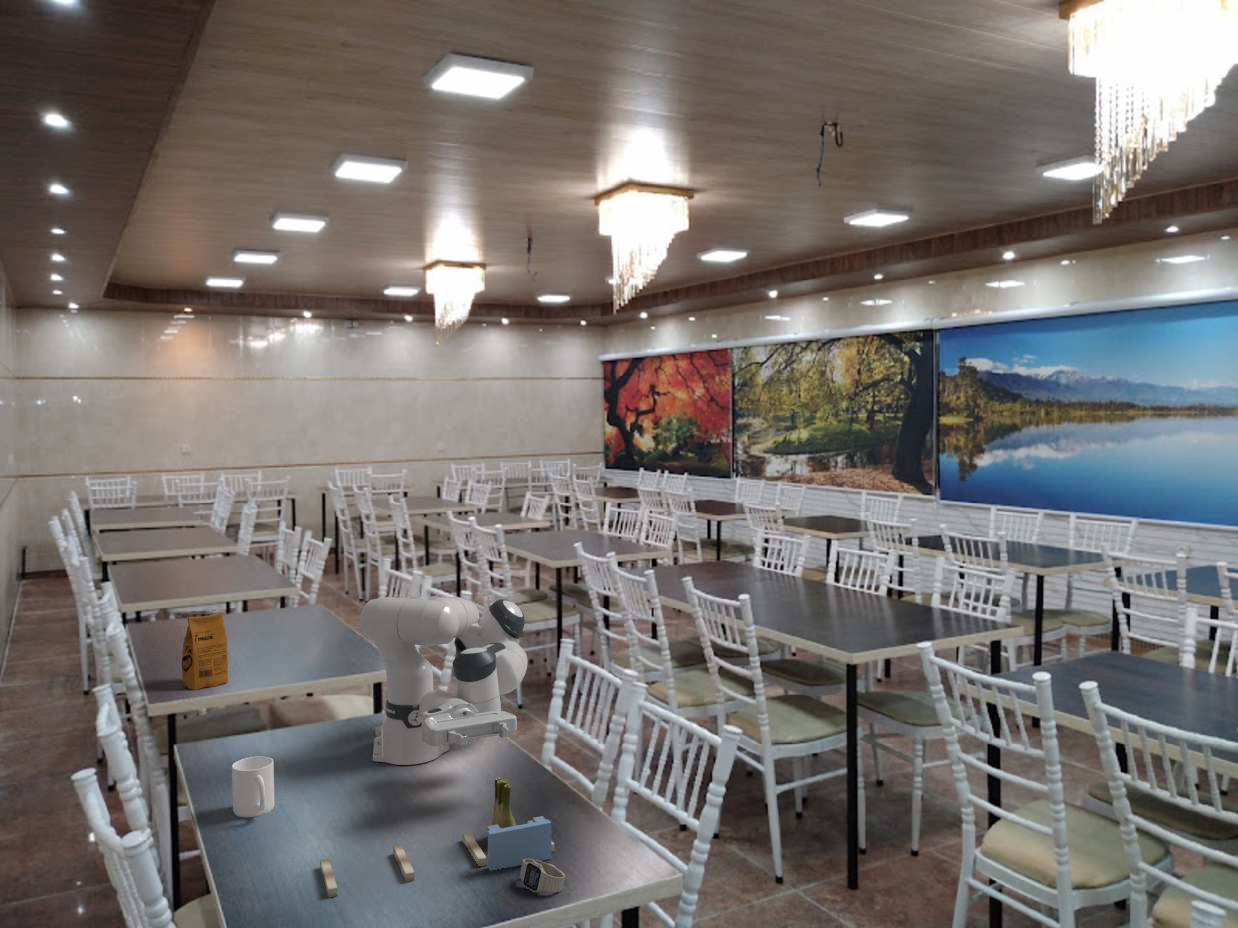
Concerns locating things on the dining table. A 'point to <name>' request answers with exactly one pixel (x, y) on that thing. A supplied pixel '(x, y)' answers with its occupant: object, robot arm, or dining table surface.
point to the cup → (253, 786)
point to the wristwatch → (541, 876)
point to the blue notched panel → (519, 843)
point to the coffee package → (205, 652)
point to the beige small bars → (406, 862)
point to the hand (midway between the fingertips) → (485, 736)
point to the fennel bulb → (502, 805)
